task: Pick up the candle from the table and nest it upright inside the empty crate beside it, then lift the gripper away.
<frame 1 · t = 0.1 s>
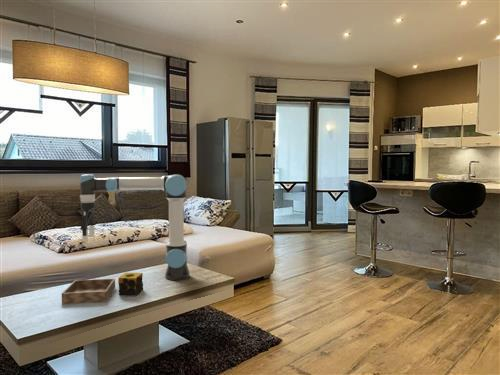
hand: (88, 238, 214), 28 cm above the table, tool pointing down, fingers open, 13 cm apart
crate: (90, 295, 202), on the table
candle: (131, 293, 207), on the table
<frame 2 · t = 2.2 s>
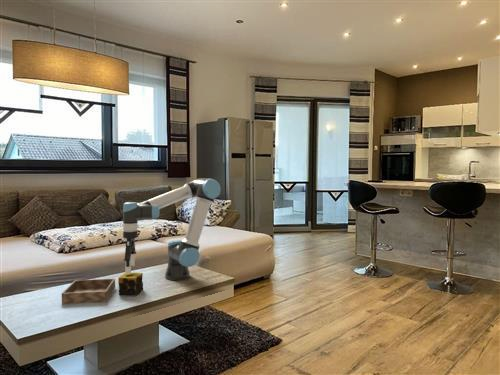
hand: (130, 269, 206), 13 cm above the table, tool pointing down, fingers open, 13 cm apart
nothing on the table moved.
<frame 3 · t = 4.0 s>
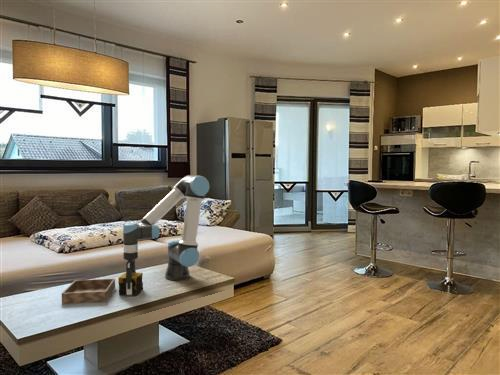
hand: (131, 290, 207), 1 cm above the table, tool pointing down, fingers closed on candle, 11 cm apart
candle: (131, 293, 207), on the table, touching gripper
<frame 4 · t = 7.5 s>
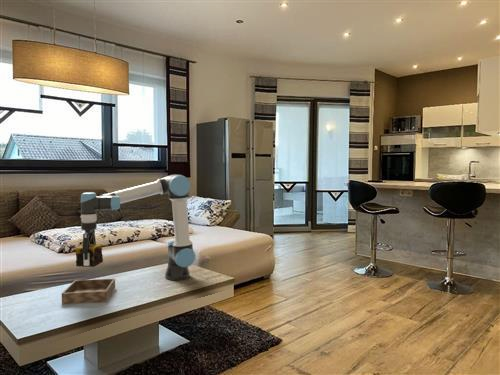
hand: (89, 262, 201), 18 cm above the table, tool pointing down, fingers closed on candle, 11 cm apart
candle: (89, 264, 201), point 17 cm above the table, touching gripper
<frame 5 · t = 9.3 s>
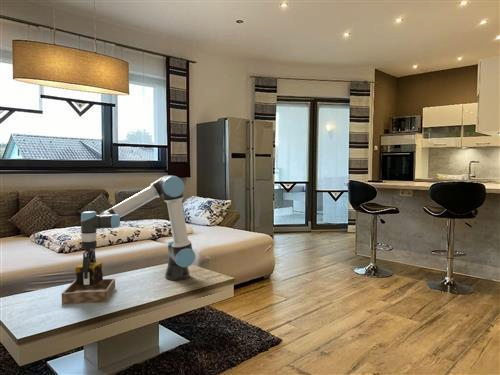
hand: (89, 280, 201), 8 cm above the table, tool pointing down, fingers closed on candle, 11 cm apart
candle: (89, 283, 201), point 7 cm above the table, touching gripper
when the fingers open (3 cm above the table, at t = 10.8 s): candle drops 1 cm, resting on crate.
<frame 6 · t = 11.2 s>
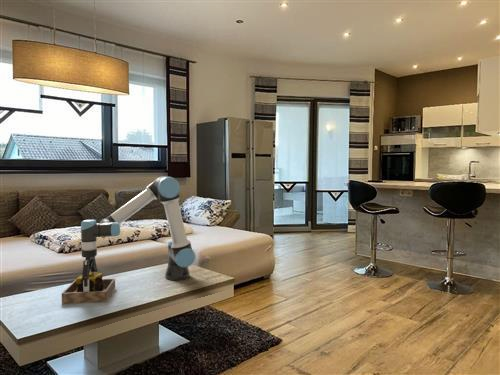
hand: (90, 287, 201), 4 cm above the table, tool pointing down, fingers open, 13 cm apart
candle: (90, 294, 202), point 1 cm above the table, touching crate
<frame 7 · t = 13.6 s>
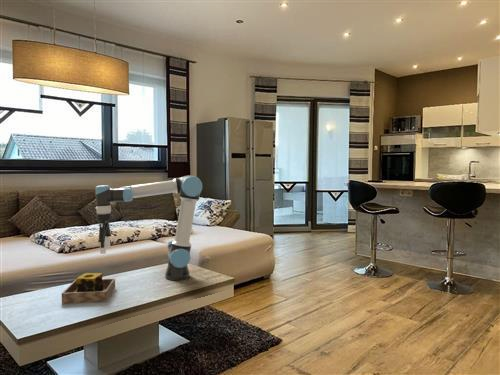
hand: (105, 250, 210), 22 cm above the table, tool pointing down, fingers open, 13 cm apart
nothing on the table moved.
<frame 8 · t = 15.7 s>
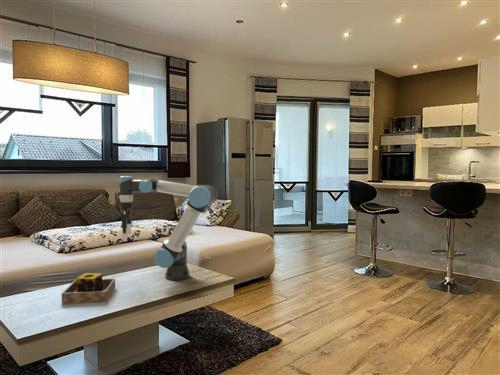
hand: (126, 236, 228), 27 cm above the table, tool pointing down, fingers open, 13 cm apart
nothing on the table moved.
at the end: candle inside the target area on the crate (0.1 cm from its centre), point 0.8 cm above the crate's base; candle tilted 0°; the gripper is holding nothing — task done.
